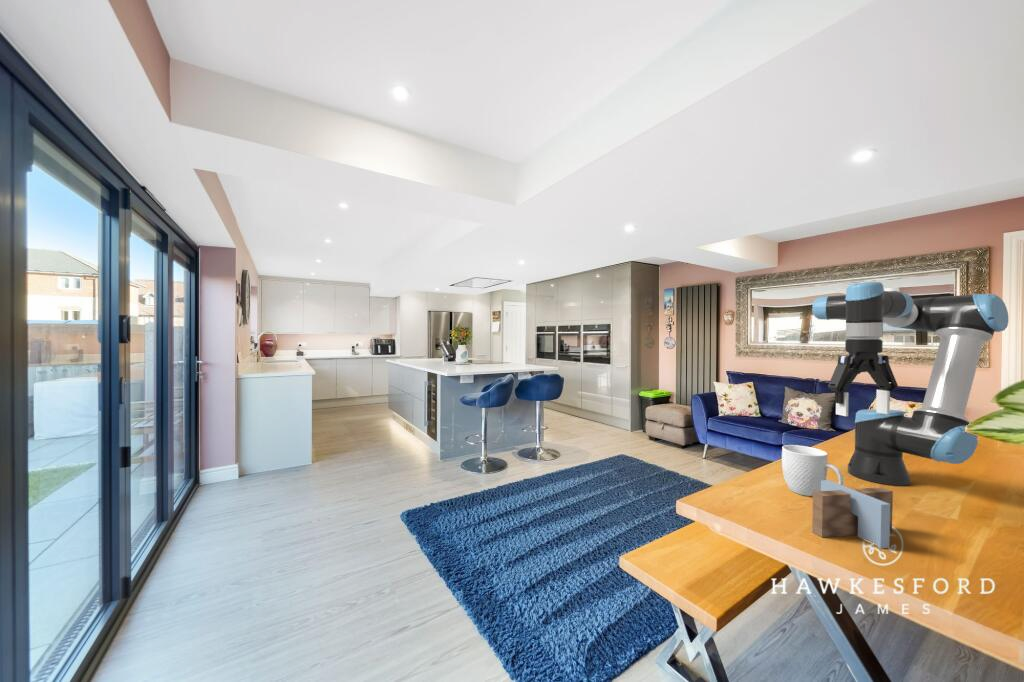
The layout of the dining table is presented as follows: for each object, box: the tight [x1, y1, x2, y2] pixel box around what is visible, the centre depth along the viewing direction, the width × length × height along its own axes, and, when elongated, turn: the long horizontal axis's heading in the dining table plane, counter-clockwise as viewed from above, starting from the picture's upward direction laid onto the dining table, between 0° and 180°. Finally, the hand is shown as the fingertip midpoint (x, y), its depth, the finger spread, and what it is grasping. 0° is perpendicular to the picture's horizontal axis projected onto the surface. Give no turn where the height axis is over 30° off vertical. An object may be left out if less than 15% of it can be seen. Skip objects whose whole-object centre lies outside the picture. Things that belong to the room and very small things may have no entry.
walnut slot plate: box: [811, 486, 894, 538], centre depth 91 cm, size 20×2×10 cm, turn 98°
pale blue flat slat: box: [821, 479, 890, 549], centre depth 91 cm, size 14×2×10 cm, turn 8°
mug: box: [781, 444, 844, 497], centre depth 112 cm, size 15×11×13 cm
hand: (862, 414), depth 103 cm, fingers open, 13 cm apart
